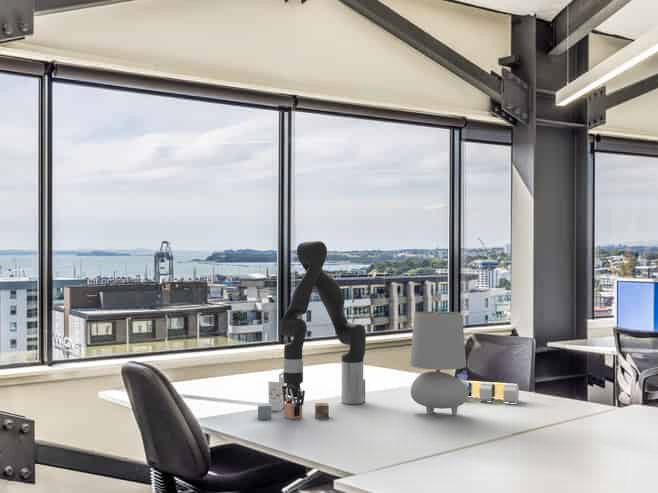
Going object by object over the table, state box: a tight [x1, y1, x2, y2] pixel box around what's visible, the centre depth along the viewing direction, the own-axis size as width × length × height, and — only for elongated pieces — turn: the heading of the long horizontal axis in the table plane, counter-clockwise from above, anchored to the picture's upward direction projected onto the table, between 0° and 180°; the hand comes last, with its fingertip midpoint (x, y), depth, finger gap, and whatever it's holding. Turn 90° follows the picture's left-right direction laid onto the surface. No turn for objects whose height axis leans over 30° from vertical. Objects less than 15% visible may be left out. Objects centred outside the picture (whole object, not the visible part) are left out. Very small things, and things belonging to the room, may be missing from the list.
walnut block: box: [314, 402, 330, 420], centre depth 279 cm, size 5×5×5 cm
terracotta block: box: [283, 402, 303, 420], centre depth 278 cm, size 5×5×5 cm
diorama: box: [456, 370, 520, 403], centre depth 311 cm, size 25×10×13 cm, turn 69°
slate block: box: [257, 402, 272, 420], centre depth 278 cm, size 5×5×5 cm
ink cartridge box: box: [267, 371, 286, 412], centre depth 294 cm, size 9×5×15 cm, turn 168°
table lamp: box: [410, 311, 469, 416], centre depth 284 cm, size 23×22×40 cm
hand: (293, 414), depth 278 cm, fingers closed on terracotta block, 5 cm apart
